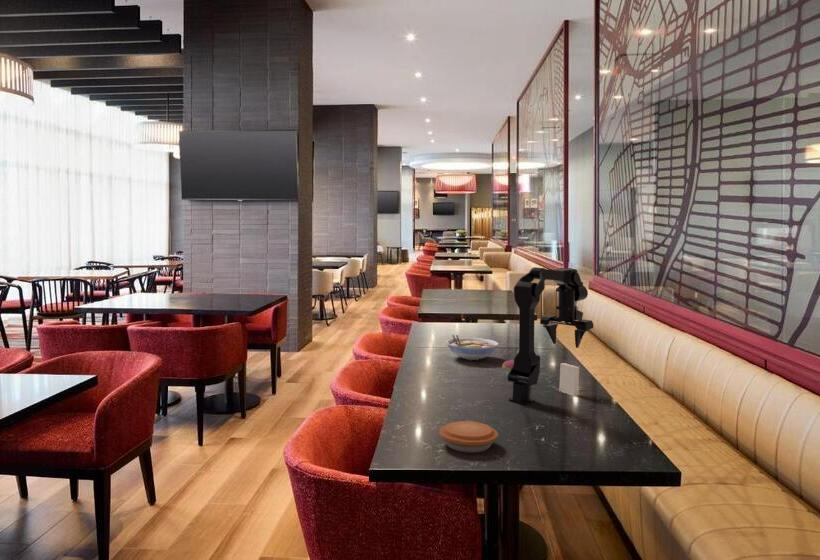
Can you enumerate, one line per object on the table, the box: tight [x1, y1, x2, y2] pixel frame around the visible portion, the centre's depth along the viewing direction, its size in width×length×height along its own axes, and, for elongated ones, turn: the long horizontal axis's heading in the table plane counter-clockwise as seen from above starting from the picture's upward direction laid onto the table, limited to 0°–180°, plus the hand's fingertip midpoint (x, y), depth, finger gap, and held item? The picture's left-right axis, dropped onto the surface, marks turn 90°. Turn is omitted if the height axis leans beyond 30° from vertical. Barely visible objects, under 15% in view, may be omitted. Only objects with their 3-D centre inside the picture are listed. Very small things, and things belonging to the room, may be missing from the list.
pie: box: [438, 420, 499, 454], centre depth 161 cm, size 15×16×5 cm
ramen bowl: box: [445, 334, 499, 361], centre depth 268 cm, size 25×23×8 cm
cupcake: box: [501, 349, 521, 377], centre depth 235 cm, size 9×8×12 cm
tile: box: [558, 362, 580, 397], centre depth 215 cm, size 2×7×10 cm, turn 31°
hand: (565, 345), depth 222 cm, fingers open, 9 cm apart
